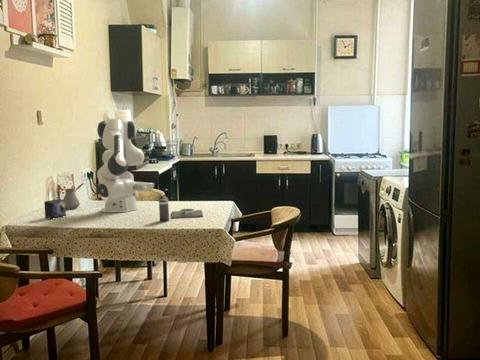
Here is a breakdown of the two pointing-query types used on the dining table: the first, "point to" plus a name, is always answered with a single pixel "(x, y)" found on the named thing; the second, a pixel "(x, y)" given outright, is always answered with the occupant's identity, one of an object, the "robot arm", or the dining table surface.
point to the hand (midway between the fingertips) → (147, 184)
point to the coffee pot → (71, 198)
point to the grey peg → (164, 210)
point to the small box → (55, 208)
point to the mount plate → (187, 213)
